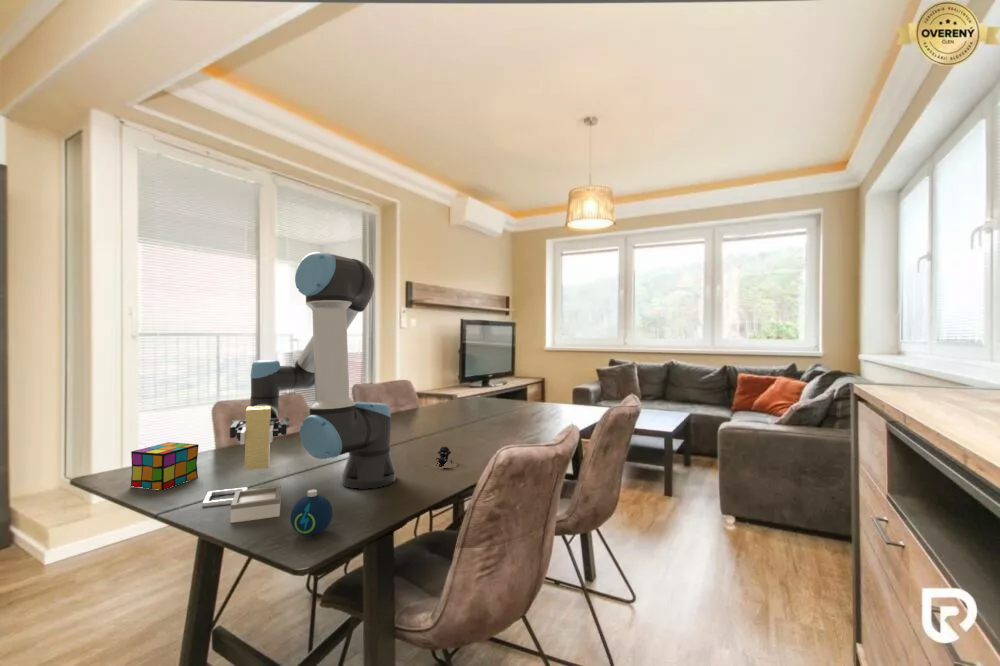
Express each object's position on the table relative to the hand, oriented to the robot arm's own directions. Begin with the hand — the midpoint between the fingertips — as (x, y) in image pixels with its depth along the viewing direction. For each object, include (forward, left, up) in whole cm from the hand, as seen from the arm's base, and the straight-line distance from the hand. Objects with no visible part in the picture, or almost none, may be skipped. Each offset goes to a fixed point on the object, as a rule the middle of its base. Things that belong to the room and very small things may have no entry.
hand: (256, 437), depth 105 cm
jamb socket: (+9, -17, -19) cm, 27 cm away
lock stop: (+1, -5, -8) cm, 10 cm away
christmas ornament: (-13, +12, -19) cm, 26 cm away
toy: (+28, -36, -19) cm, 50 cm away
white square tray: (0, -5, -19) cm, 20 cm away
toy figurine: (-51, -31, -19) cm, 63 cm away
